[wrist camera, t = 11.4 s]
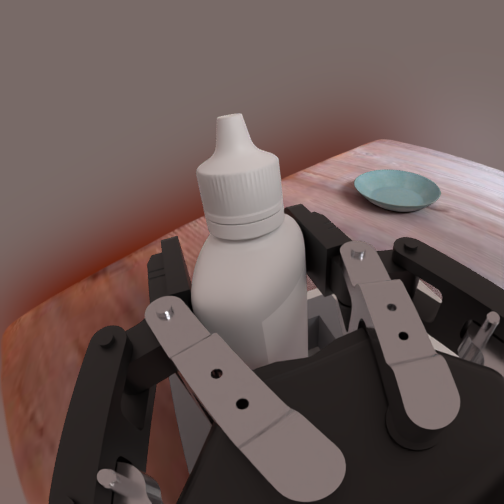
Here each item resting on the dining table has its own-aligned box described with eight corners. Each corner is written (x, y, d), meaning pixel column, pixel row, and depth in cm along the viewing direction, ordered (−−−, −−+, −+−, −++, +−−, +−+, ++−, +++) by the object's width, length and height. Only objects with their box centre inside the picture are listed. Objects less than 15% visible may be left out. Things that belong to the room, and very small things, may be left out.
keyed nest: (394, 265, 25) (399, 229, 23) (515, 389, 13) (542, 355, 10) (173, 341, 22) (156, 305, 20) (229, 553, 9) (210, 556, 7)
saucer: (416, 233, 30) (419, 215, 28) (336, 201, 38) (335, 185, 37) (449, 200, 35) (451, 185, 34) (382, 177, 43) (382, 164, 42)
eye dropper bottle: (341, 367, 14) (350, 104, 8) (259, 443, 11) (179, 144, 5) (279, 329, 17) (252, 104, 11) (201, 387, 14) (111, 142, 8)
